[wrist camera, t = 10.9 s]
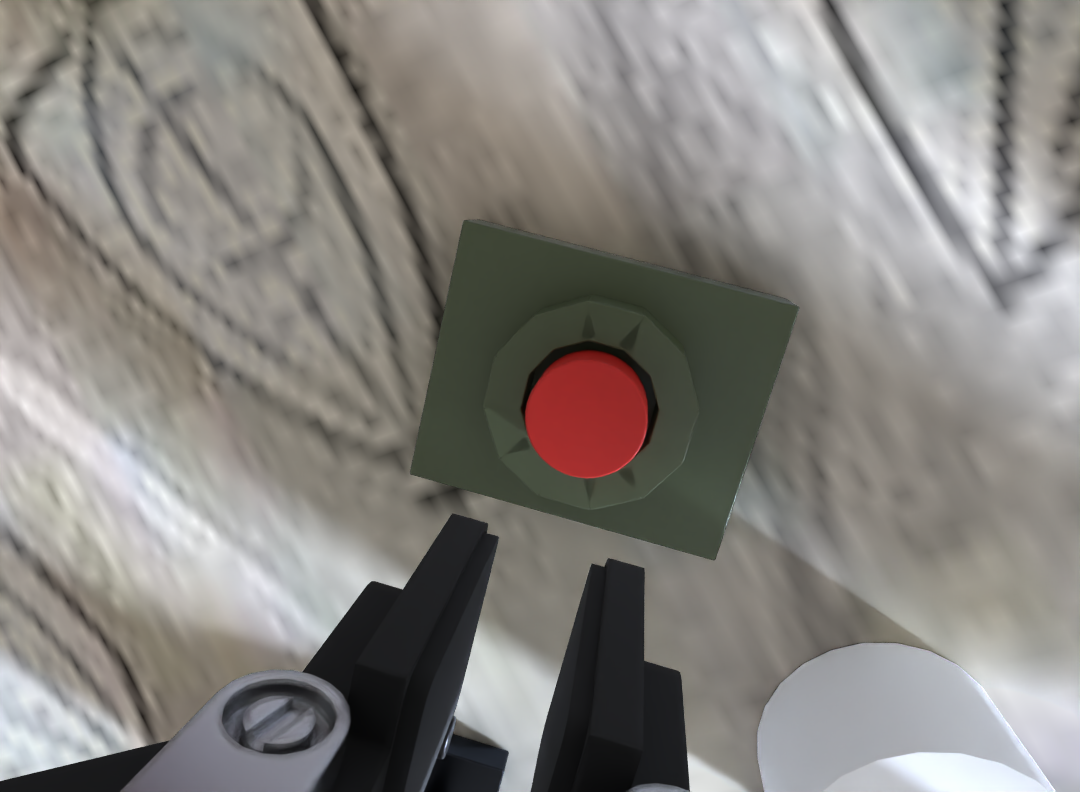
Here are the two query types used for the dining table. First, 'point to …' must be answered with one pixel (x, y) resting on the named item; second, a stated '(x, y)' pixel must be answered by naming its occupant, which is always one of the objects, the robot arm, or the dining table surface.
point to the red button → (587, 414)
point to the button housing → (621, 330)
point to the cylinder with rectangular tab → (889, 728)
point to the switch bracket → (468, 768)
